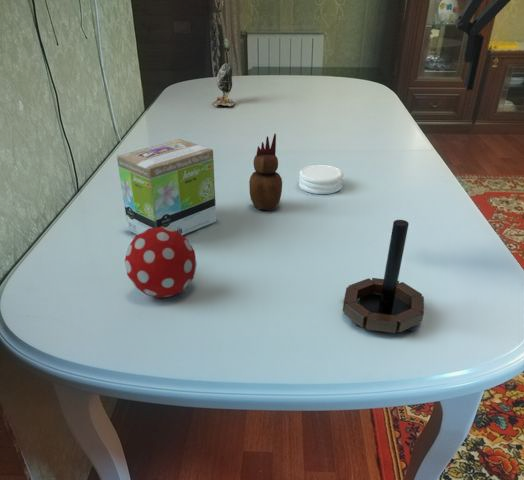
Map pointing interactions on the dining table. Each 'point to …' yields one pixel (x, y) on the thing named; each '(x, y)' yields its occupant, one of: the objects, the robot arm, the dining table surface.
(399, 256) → the stand
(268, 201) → the wooden figurine
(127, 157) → the tea box
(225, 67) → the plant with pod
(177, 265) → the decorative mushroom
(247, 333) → the dining table surface
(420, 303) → the ring
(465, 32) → the robot arm
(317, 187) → the coaster
